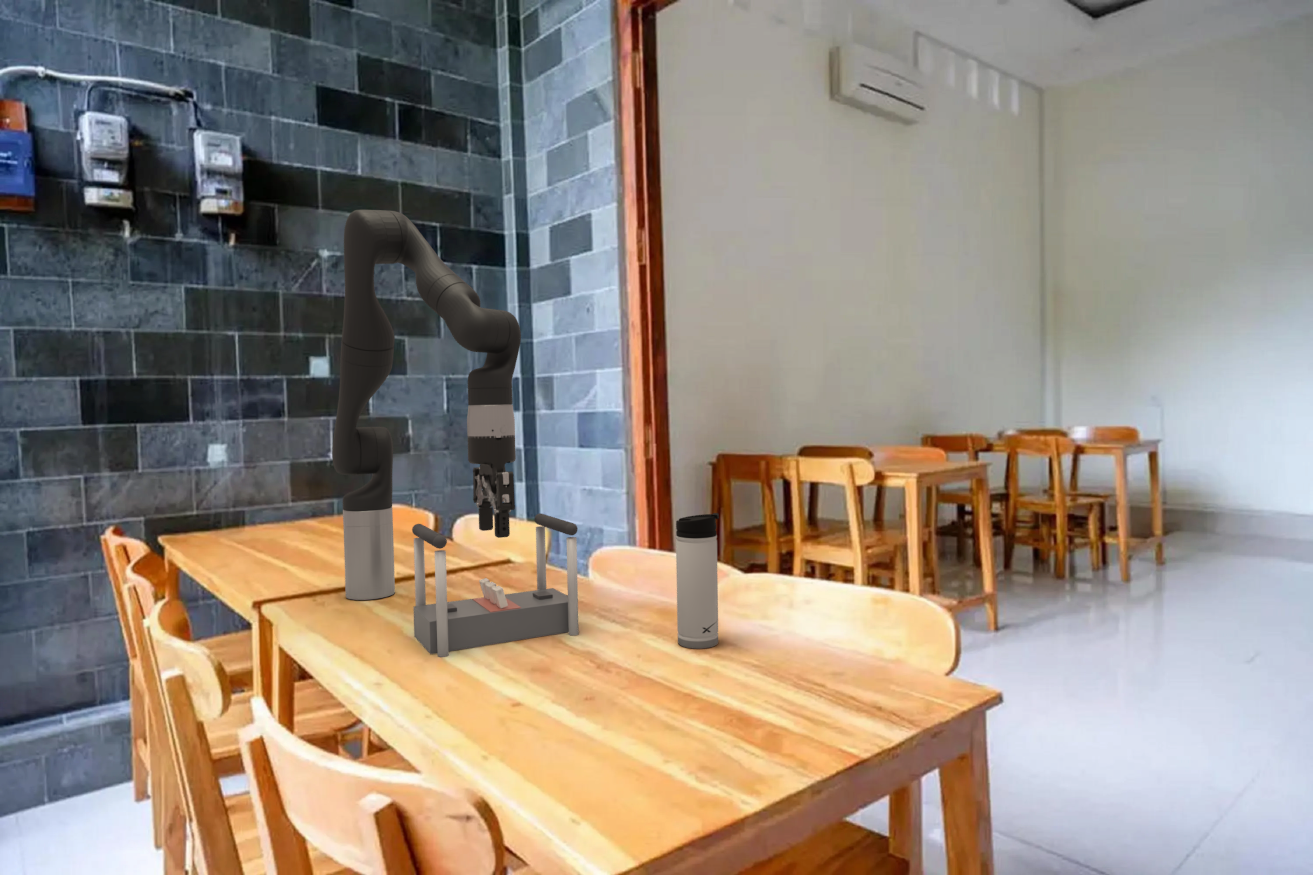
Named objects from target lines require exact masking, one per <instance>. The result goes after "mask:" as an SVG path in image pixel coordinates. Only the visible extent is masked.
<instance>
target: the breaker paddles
mask: <svg viewBox="0 0 1313 875" xmlns="http://www.w3.org/2000/svg"><path fill="white" fill-rule="evenodd" d="M478 582H479V585H480V589H481V591H482V595H483V597H484V598H486V599H487V600H488V599H490V602H492V603H493V604H495V603H496V604H497V606H498V607H499V608H504V607H506V606H508V604H507V601H506V597H505V594H506V593H505V590H504V588H503V587H502V586H500V585H498V586H497V583H495V582H493V581H490V579H488V578H487V577H485V578H482V579H479V580H478Z"/></svg>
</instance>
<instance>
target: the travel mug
mask: <svg viewBox="0 0 1313 875" xmlns="http://www.w3.org/2000/svg"><path fill="white" fill-rule="evenodd" d="M719 518H720V514H719V512H713V513H709V514H705V513H704V514H696V515H689V516H688V515H687V516H685V517H683V516H682V517H680V518H678V520H676V523H675V525H676V526H675V527H676V528H675V529H676V532H675V539H676V540H675V548H676V549H675V557H676V558H675V559H676V560H675V562H676V564H675V565H676V569H675V570H676V601H677V602H676V610H677V611H676V614H677V615H676V616H677V617H676V618H677V619H676V620H677V623H676V624H677V626H676V627H677V628H676V630H677V643H678V645H680V646H681V647H683V648H687V649H693V650H694V649H696V650H700V649H701V650H703V649H704V650H705V649H709V648H713V647H715V646H716V645H718V644H719V595H718V593H719V592H718V591H719V588H718V587H719V586H718V585H719V584H718V583H719V582H718V579H719V578H718V539H717V538H718V535H717V522H716V521H717V520H719Z"/></svg>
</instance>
